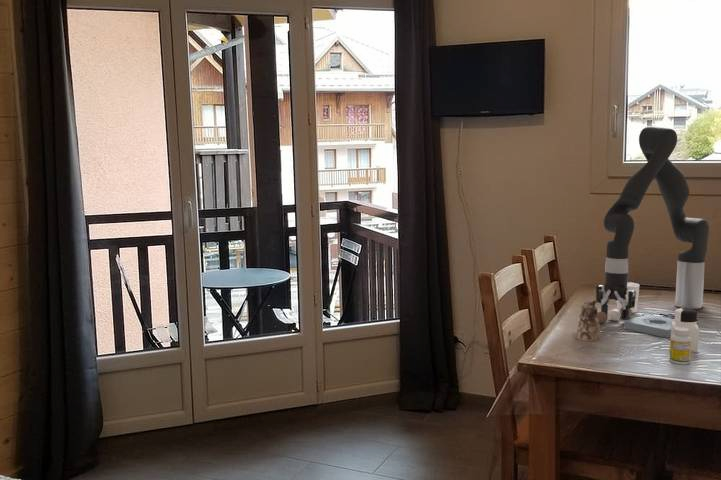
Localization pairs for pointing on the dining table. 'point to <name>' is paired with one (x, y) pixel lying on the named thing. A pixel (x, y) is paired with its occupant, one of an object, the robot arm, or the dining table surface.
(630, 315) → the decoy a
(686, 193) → the robot arm
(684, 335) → the supplement bottle
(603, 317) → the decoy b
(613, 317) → the ball
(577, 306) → the dining table surface
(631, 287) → the white cup
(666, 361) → the dining table surface
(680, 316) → the medicine bottle
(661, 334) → the blue-grey square plate
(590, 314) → the figurine
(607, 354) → the dining table surface
